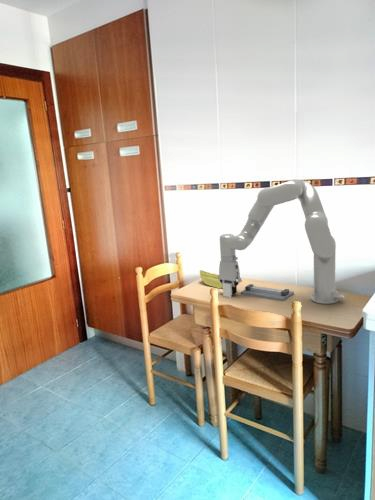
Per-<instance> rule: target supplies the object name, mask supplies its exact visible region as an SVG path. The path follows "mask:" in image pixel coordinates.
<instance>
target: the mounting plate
mask: <svg viewBox="0 0 375 500" xmlns="http://www.w3.org/2000/svg"><path fill="white" fill-rule="evenodd" d="M264 288H266V287H265V286H264ZM271 289H273V288H272V287H271ZM278 290H280V289H278ZM239 293H240V295H243V296H249V297H256V298H263V299H269V300H275V301H281V302H285V301H286V300H288V299H289V298H291V297H292V296H293V295H295V291H293V290H289V294H288V295H286V296H281V295H276V294H270V293H263V292H256V291H250V290H249V291H246V290H245V289H243V290H241V291H240V292H239Z"/></svg>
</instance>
